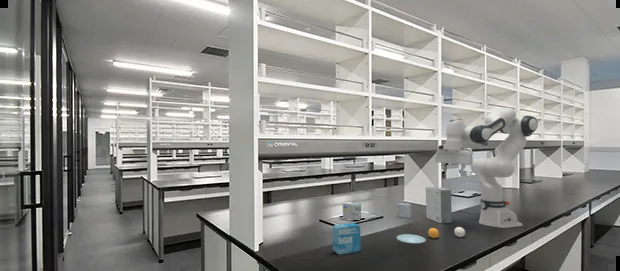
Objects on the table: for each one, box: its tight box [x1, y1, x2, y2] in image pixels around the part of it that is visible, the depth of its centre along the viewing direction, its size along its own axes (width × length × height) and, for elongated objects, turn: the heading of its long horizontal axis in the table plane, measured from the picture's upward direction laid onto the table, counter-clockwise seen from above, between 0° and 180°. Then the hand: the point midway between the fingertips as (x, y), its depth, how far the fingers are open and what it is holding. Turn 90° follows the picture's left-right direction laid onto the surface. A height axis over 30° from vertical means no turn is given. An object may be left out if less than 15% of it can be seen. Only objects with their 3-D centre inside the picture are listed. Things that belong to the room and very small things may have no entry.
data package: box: [332, 222, 361, 256], centre depth 138 cm, size 12×4×12 cm, turn 112°
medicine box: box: [397, 202, 412, 219], centre depth 199 cm, size 8×4×9 cm, turn 84°
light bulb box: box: [342, 201, 362, 221], centre depth 194 cm, size 11×7×11 cm, turn 71°
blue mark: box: [396, 233, 427, 244], centre depth 155 cm, size 14×14×1 cm
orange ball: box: [427, 227, 440, 239], centre depth 156 cm, size 5×5×5 cm
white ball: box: [453, 226, 466, 238], centre depth 158 cm, size 5×5×5 cm
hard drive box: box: [425, 186, 453, 224], centre depth 191 cm, size 16×8×20 cm, turn 13°
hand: (452, 171), depth 172 cm, fingers open, 8 cm apart
